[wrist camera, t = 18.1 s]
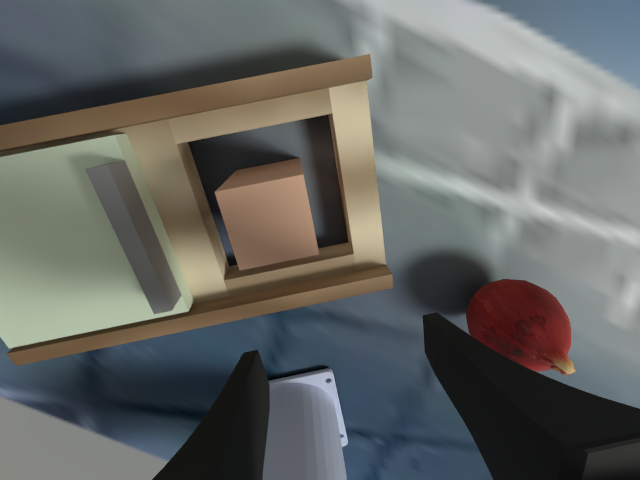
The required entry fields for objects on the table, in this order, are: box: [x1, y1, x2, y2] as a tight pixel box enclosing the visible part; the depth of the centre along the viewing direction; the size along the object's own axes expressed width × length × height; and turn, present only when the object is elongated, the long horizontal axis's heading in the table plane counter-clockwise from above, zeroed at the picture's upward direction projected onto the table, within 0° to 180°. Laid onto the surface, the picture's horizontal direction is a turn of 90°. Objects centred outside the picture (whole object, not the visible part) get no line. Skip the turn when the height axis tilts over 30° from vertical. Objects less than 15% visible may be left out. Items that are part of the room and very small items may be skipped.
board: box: [0, 54, 393, 366], centre depth 18 cm, size 13×24×3 cm, turn 100°
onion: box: [466, 279, 575, 375], centre depth 21 cm, size 6×6×8 cm
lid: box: [0, 134, 194, 348], centre depth 16 cm, size 10×11×3 cm
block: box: [215, 158, 319, 270], centre depth 17 cm, size 4×4×6 cm
